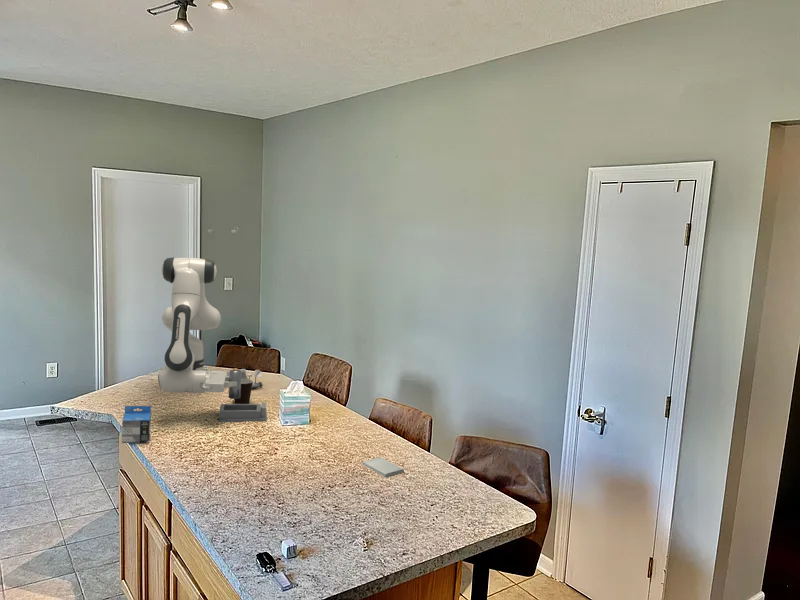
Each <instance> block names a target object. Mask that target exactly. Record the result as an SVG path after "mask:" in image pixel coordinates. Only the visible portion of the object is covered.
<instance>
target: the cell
mask: <svg viewBox="0 0 800 600" xmlns="http://www.w3.org/2000/svg"><path fill="white" fill-rule="evenodd" d="M229 371H230V375H229V382H233V381H237V386H232V387H228V399H230V400H234V399H239V398H240V392H241V370H240V369H239V368H237V367H233V368H232V369H229Z"/></svg>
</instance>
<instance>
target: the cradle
mask: <svg viewBox="0 0 800 600" xmlns="http://www.w3.org/2000/svg"><path fill="white" fill-rule="evenodd" d="M218 410H219V412H218V419H219V422H220V423H239V422H240V423H243V422H244V421H245V423H249V421H266V422H267V402H265V401H263V402H262V401H261V403H249V404H235V403H221V404H220V407H219V409H218ZM246 421H248V422H246Z"/></svg>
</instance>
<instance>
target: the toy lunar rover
mask: <svg viewBox="0 0 800 600" xmlns="http://www.w3.org/2000/svg"><path fill="white" fill-rule="evenodd" d="M239 370H241V379H250V380H251V378H252V376H253V375H254V379H255V380H254V381H253V383H252V388H256V387H257V388H261V389H262V388H263V386H264V384H263V382H262V381H258V382H257V378H260V377H262V376H263V373H262V371H261V370H259V369H255V370H254V373H253V375H252V374H251V373H247V369H246V368H241V369H239ZM226 373H227V376H229V375H230V370H228V371H227V372H226Z"/></svg>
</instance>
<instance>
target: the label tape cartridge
mask: <svg viewBox="0 0 800 600" xmlns="http://www.w3.org/2000/svg"><path fill="white" fill-rule="evenodd" d="M151 421H152V405H125V406H124V414H123V417H122V425H121V427H122V428H121V444H137V443H138V444H139V443H143V444H144V443H150V441H151V424H152V422H151Z"/></svg>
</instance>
